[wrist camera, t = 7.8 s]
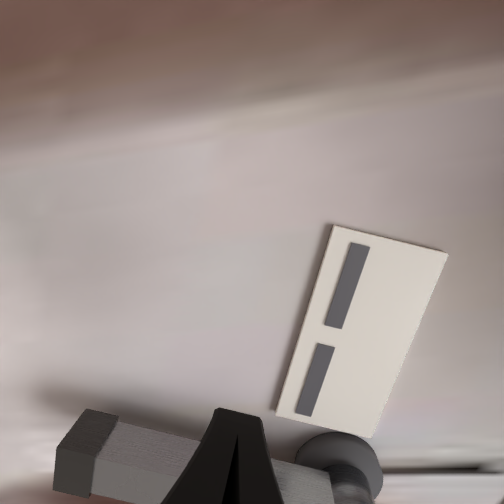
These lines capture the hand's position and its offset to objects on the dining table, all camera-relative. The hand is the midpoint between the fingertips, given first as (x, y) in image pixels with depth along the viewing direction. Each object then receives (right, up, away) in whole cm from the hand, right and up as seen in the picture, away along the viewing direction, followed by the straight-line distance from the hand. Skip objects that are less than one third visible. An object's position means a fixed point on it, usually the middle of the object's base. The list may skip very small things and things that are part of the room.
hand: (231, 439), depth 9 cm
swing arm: (-1, -5, +7) cm, 8 cm away
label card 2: (+6, +4, +5) cm, 9 cm away
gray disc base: (+5, -6, +8) cm, 11 cm away
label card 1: (+5, -1, +6) cm, 8 cm away
